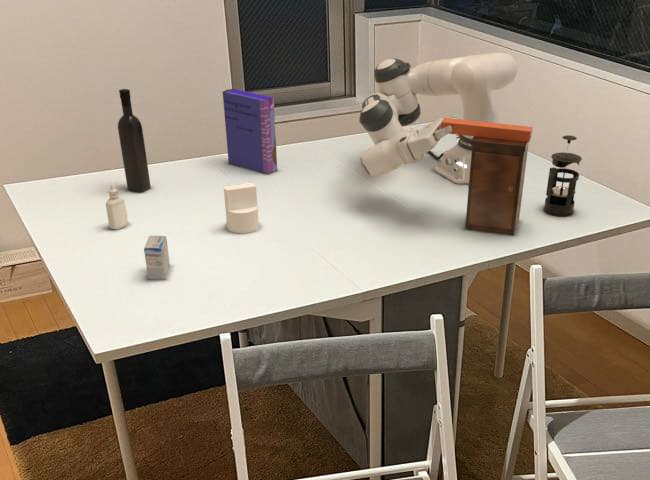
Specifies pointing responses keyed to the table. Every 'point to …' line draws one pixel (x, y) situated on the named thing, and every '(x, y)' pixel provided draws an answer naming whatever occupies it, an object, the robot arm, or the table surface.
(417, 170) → the table surface
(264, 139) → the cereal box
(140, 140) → the wine bottle
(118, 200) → the eye dropper bottle
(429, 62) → the robot arm
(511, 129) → the orange rectangular bar
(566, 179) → the french press
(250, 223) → the cylinder with rectangular tab
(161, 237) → the medicine box
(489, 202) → the cabinet
